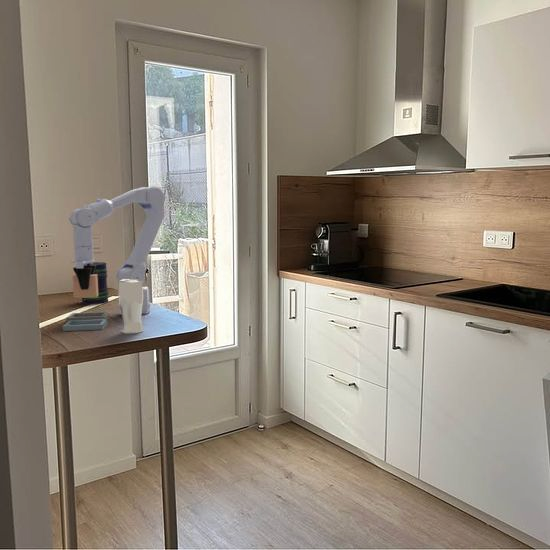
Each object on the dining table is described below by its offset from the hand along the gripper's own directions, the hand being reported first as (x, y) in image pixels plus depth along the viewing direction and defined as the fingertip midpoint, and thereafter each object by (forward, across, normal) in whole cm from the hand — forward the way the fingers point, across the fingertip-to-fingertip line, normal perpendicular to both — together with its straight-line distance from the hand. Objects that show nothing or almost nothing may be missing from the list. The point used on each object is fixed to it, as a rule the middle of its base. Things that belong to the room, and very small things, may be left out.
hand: (86, 288), depth 180 cm
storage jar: (+10, -34, -4) cm, 35 cm away
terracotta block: (+3, 0, 0) cm, 3 cm away
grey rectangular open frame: (+10, 0, 0) cm, 10 cm away
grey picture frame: (+10, +12, +2) cm, 16 cm away
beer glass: (+10, +21, +17) cm, 29 cm away
